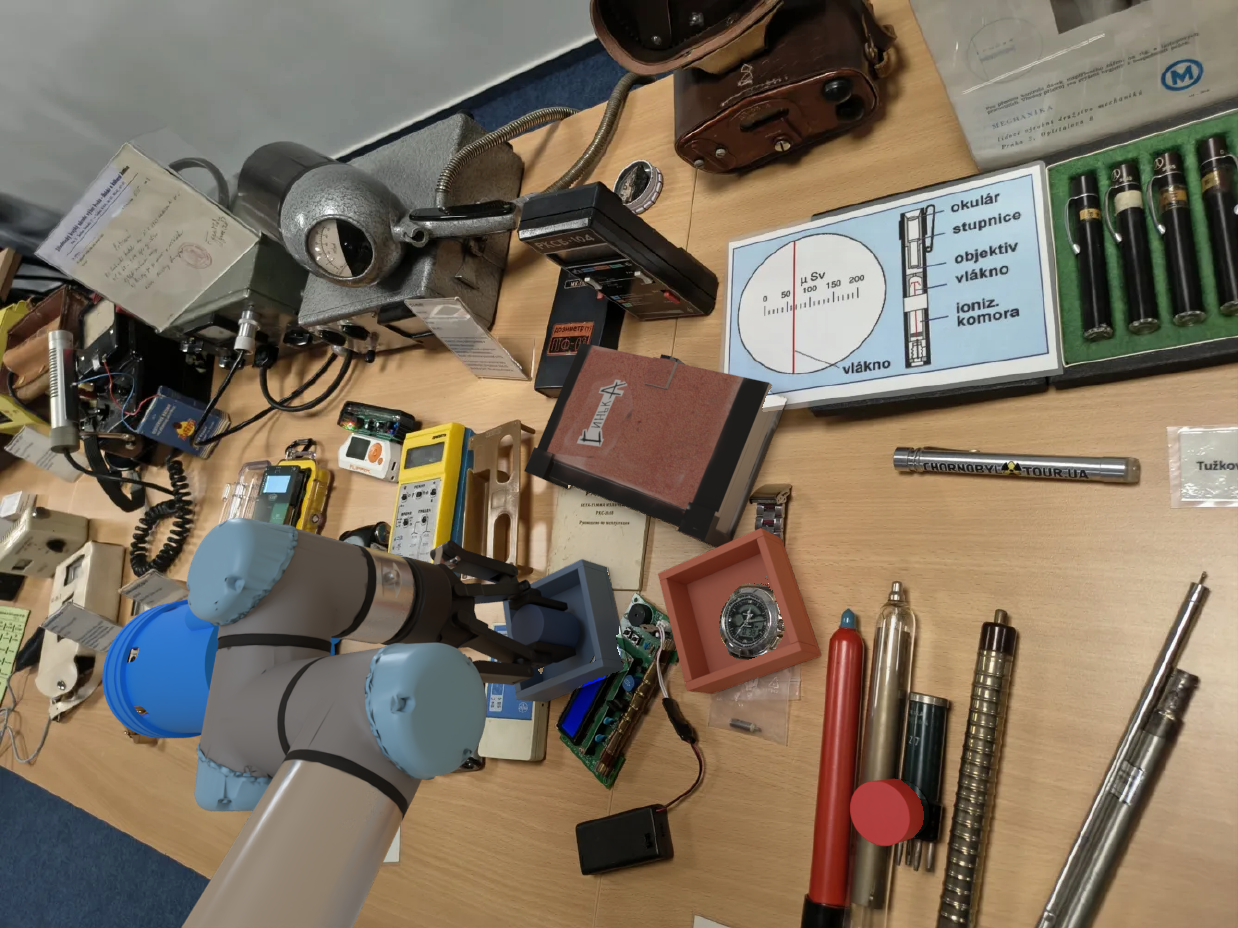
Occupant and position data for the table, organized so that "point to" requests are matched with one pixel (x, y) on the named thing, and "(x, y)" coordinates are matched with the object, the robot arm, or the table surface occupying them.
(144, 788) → the table surface
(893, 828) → the red canister
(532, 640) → the blue canister
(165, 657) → the blue pipe coupling
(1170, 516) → the table surface
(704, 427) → the book
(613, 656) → the blue bin
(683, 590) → the red bin
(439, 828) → the table surface
